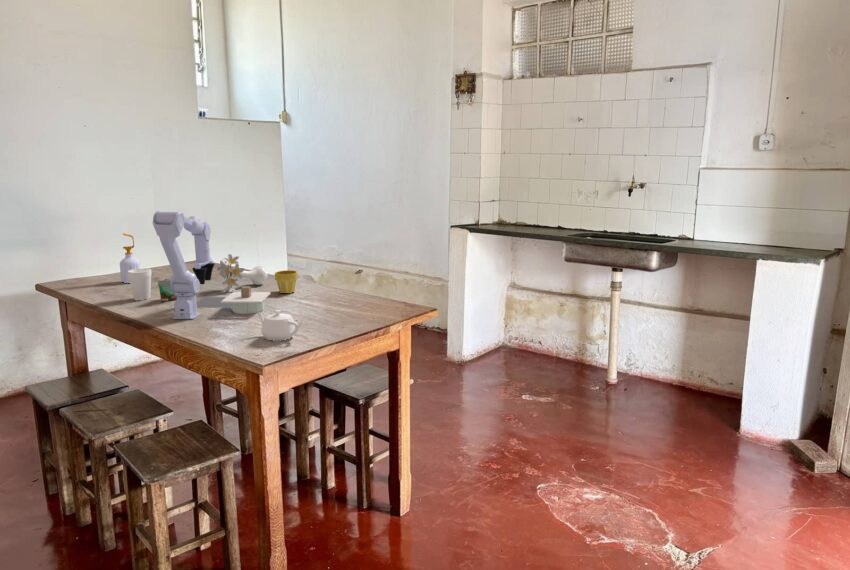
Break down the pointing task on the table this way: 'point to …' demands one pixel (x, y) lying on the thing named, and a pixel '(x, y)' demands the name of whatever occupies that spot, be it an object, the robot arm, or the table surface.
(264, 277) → the flower vase
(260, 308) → the bowl
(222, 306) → the mat
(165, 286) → the food container
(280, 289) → the plant pot
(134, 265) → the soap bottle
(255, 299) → the cover sheet
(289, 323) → the teapot
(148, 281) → the foam cup
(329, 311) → the table surface
